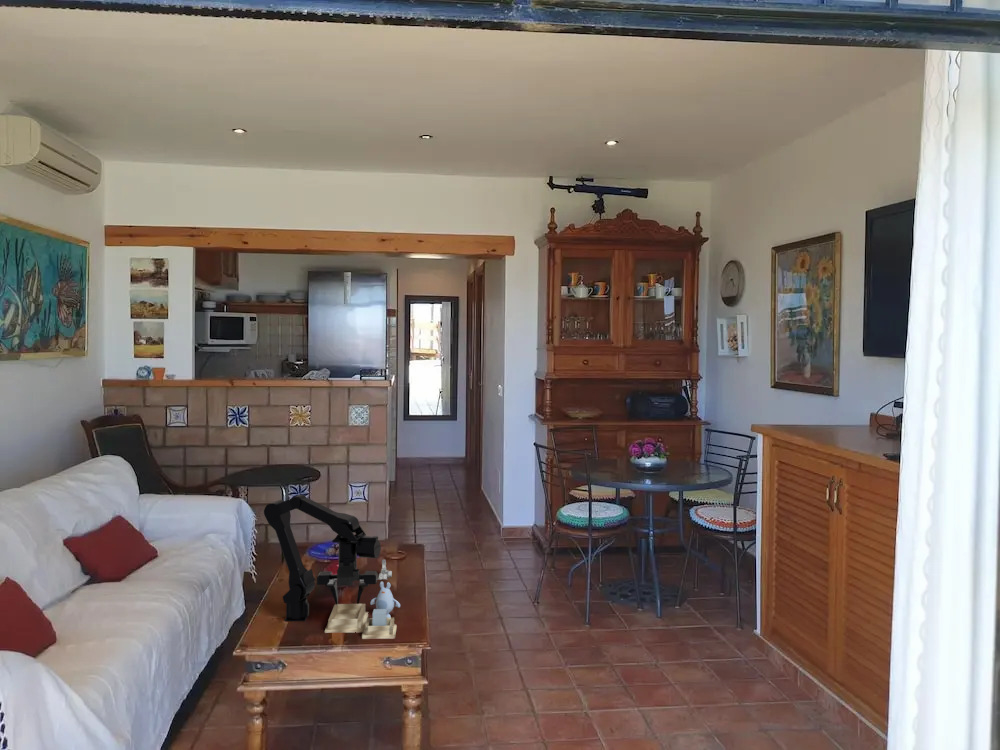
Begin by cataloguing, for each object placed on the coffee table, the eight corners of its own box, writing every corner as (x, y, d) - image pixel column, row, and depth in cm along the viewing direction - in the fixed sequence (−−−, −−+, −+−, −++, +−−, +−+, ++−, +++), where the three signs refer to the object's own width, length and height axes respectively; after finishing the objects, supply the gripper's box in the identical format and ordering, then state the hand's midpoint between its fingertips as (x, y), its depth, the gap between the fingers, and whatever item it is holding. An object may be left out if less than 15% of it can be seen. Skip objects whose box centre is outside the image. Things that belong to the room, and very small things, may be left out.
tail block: (372, 632, 234) (372, 613, 234) (373, 627, 238) (373, 609, 238) (385, 632, 235) (385, 613, 234) (386, 627, 239) (386, 608, 238)
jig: (322, 639, 231) (322, 626, 231) (332, 615, 252) (332, 603, 252) (394, 638, 232) (394, 625, 232) (398, 614, 253) (398, 602, 253)
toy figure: (366, 619, 248) (366, 583, 248) (373, 613, 254) (374, 577, 254) (396, 622, 246) (396, 586, 245) (403, 616, 252) (403, 580, 251)
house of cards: (399, 583, 288) (399, 563, 287) (376, 583, 287) (376, 563, 287) (401, 576, 297) (401, 557, 296) (379, 576, 296) (379, 557, 296)
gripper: (314, 563, 235) (313, 613, 235) (374, 562, 236) (374, 612, 237) (319, 553, 246) (319, 601, 246) (377, 553, 247) (377, 600, 248)
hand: (347, 604), depth 244 cm, fingers open, 6 cm apart
